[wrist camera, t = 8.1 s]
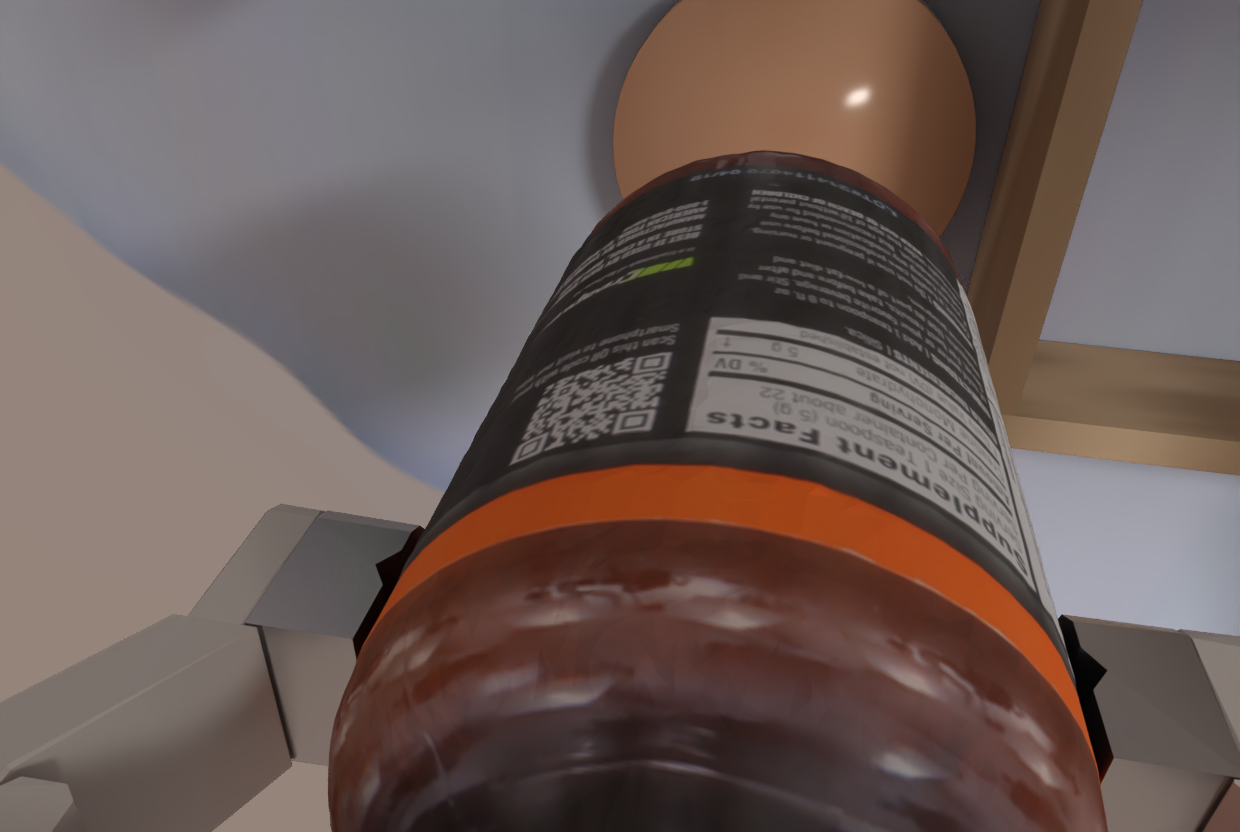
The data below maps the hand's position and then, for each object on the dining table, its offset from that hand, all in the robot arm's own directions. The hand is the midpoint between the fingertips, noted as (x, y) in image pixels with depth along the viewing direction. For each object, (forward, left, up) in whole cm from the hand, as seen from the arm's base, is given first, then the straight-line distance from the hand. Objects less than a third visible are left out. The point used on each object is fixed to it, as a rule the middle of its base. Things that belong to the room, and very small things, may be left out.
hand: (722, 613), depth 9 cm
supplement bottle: (0, 0, -6) cm, 6 cm away
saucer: (0, 0, -15) cm, 15 cm away
